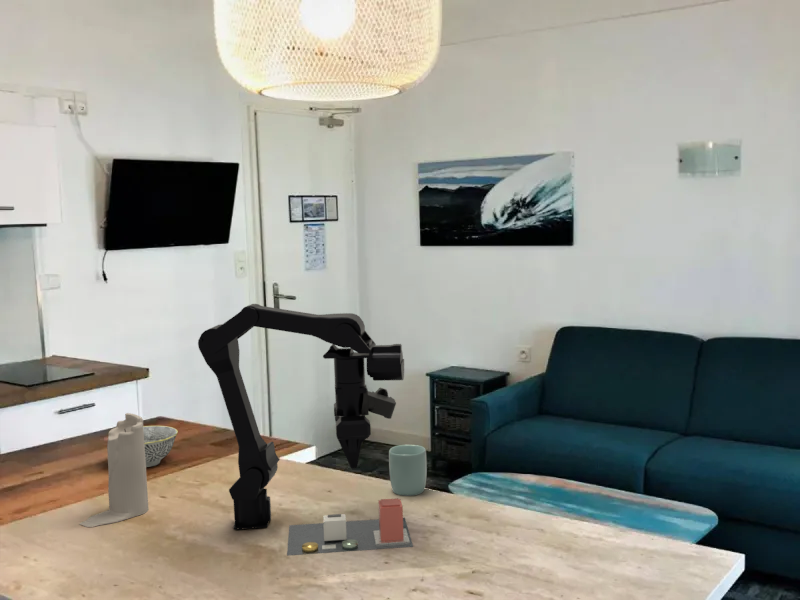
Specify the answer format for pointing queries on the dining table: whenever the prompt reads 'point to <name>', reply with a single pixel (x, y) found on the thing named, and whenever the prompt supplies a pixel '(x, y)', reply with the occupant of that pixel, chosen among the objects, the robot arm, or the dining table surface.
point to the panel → (358, 539)
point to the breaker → (334, 527)
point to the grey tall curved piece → (125, 473)
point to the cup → (407, 469)
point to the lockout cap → (390, 519)
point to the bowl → (158, 443)
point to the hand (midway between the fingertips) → (352, 461)
